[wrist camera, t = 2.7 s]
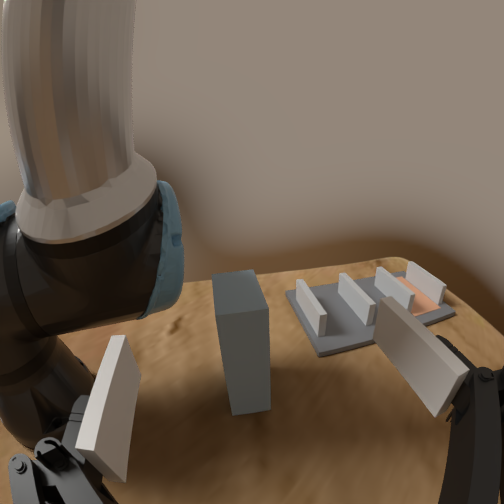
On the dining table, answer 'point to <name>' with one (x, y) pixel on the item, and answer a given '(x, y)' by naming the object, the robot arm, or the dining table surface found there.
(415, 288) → the rack
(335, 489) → the dining table surface
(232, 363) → the tall grey pillar
